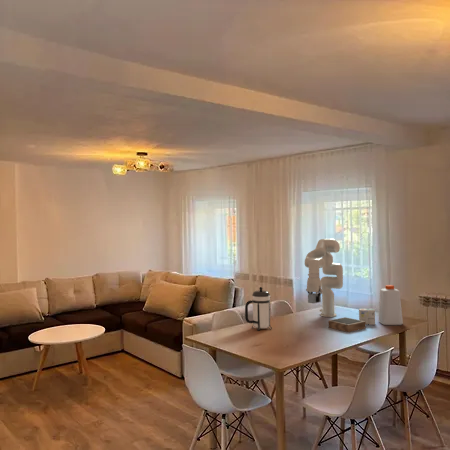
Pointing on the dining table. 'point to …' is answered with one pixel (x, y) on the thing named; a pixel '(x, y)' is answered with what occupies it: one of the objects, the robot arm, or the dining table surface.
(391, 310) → the plastic bottle
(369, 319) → the light bulb box
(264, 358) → the dining table surface
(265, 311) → the coffee press
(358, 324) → the walnut stand
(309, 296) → the block
